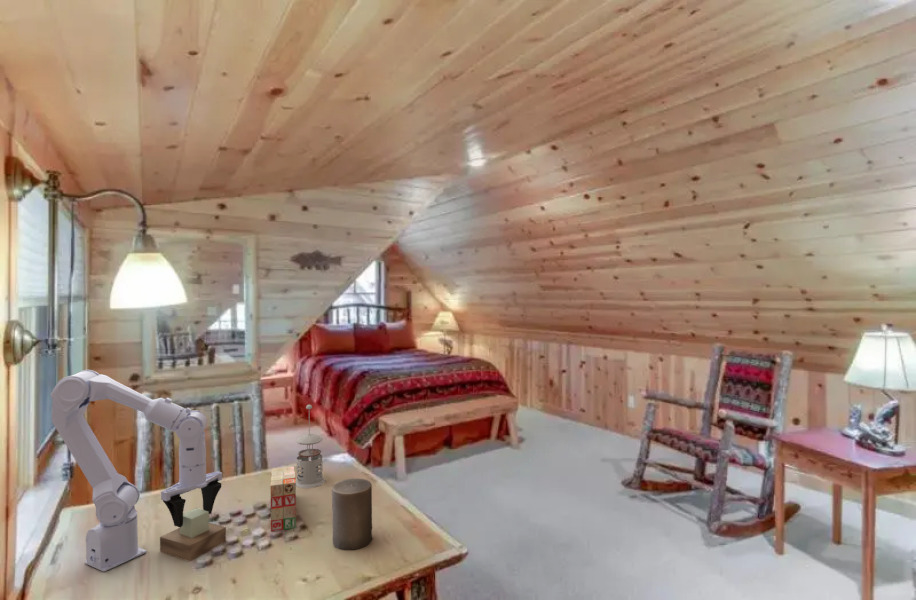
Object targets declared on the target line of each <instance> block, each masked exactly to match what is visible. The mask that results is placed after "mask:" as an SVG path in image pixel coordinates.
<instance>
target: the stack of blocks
mask: <svg viewBox="0 0 916 600" xmlns="http://www.w3.org/2000/svg"><path fill="white" fill-rule="evenodd" d="M295 471H296V470H295V467H294V465H293V466H292V465H290V466H284V467H278V468H277V467H274V468H271V469H270V472H271V473H270V474H271V475H270V532H271V531H272V532H276V531H275V530H279V531H283V530H291V529H292V530H293V529H296V528H297V512H296V511H297V509H296V508H297V494H296V493H297V487H296V480H297V477H296V472H295Z"/></svg>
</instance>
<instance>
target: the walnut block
mask: <svg viewBox="0 0 916 600" xmlns="http://www.w3.org/2000/svg"><path fill="white" fill-rule="evenodd" d="M226 528H227V527H226V526H223V525H219V524H216V523H212V522H209V530H208V531H206V532H204V533H201V534H199V535H197V536H195V537H193V538H190V537H188V536H185V535H182V534H180V527H178V528H176V529H174V530H172V531H169V532H167V533H166V534H164V535H161V536H160V537H159V548H160V549H159V552H160V553H162V554H164V555H168V556H171V557H174V558H176V559H177V558H178V559H181V560H185V561H188V562H191V561H193V560H195V559H197V558H200V556H203V555H204V554H206V553H208V552H209V551H211V550H213V549H215V548H217V547H218V546H220V545H222V544H223V543H225V542H226V541H227V531H226V530H227V529H226Z"/></svg>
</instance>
